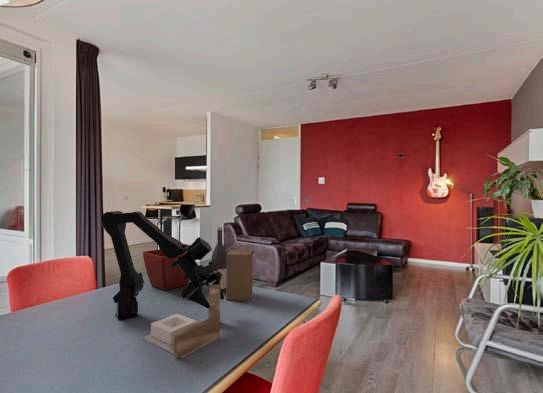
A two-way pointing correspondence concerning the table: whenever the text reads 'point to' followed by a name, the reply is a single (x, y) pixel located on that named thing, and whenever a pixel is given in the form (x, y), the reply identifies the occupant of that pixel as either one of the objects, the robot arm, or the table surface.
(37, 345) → the table surface
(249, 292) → the wooden block
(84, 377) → the table surface
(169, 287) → the plant pot
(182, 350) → the rail base
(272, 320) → the table surface
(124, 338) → the table surface
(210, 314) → the dowel
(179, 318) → the socket block
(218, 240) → the wine bottle
